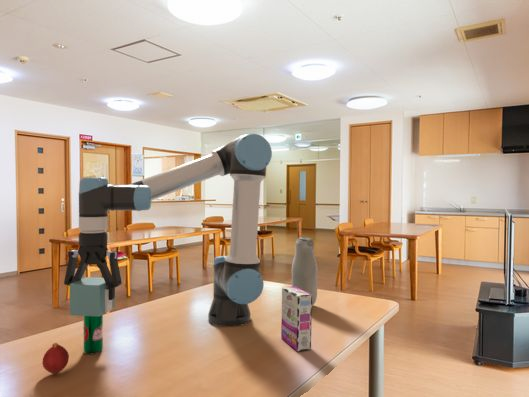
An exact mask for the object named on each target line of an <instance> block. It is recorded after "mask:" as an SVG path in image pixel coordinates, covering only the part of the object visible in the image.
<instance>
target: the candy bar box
mask: <svg viewBox="0 0 529 397" xmlns="http://www.w3.org/2000/svg"><path fill="white" fill-rule="evenodd" d="M312 312H313V305H312V295H311V294H309V293H307V292H305V291H303V290H301V289H299V288H297V287H292V286H286V287H282V288H281V329H280V330H281V331H280V332H281V334H280V335H281V336H280V337H281V338H280V339H281V340H282V341H284V342H285V343H286V345H287V344H288V346H289V347H291V348H293V349H294V350H295V351H296V352H298V353H299V352H304V351H311V349H312V317H313V314H312Z"/></svg>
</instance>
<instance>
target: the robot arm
mask: <svg viewBox="0 0 529 397" xmlns="http://www.w3.org/2000/svg"><path fill="white" fill-rule="evenodd" d="M272 152H273V151H272V147H271V144H270V143H269V141H268V140H267V139H266V138H265V137H264V136H262V135H260V134H257V133H245V134H243V135H240V136H239V137H237V138H233V139H232V140H231V141H230V142H227V143H226V144H224V145H222V146H220V147H218V148H216V149H214V150H212V151H211V153H210V154H208V155H205V156H203V157H202V156H201V158H200V157H199V158H198V159H194V160H192V161H189V162H187V163H184V164H181V165H178V166H175V167H173V168H171V169H167V170H165V171H162V172H159V173H157V174H154V175H151V176H149V177H146V178H143V179H141V180H138V181H134V182H133V183H129V184H112V183H111V184H110V183H109V179H108V178H107V177H96V176H95V177H93V176H91V177H90V176H87V177H86V176H85V177H82V178H80V180H79V188H78V189H79V190H78V230H79V231H80V232H79V233H78V245H79V248H78V249H77V250H76V249H72V250H69V251H68V252H67V256H68V261H67V267H66V271H65V275H64V281H63V285H65V286H69V287H70V284H72V283H74V282H76V281H79V280H81V279H83V276H84V274H85V273H86V270H87V268H88V266H89V265H94V266H95V265H96V267H97V268H98V269H99V272H100V273H101V276H102V278H104V280H105V283H106V285H107V287H108V288H107V289H105V312H106V313H109V312H111V311H112V310H113V308H112V300H113V299H114V298H115V297H116V288H117V287H120V286H121V285H123V282H122V277H121V272H120V268H119V261H118V257H119V252H118V251H117V250H115V251H111V250H109V249H108V240H109V239H108V238H109V237H108V235H109V234H108V232H107V230H108V222H109V221H108V217H109V215H108V214H109V213H108V211H111V212H112V211H113V212H114V211H129V212H130V211H131V212H132V211H135V212H136V211H137V212H142V211H149V210H150V209H151V206H152V201H155V200H156V199H159V198H162V197H165V196H167V195H170V194H172V193H175V192H178V191H180V190H183V189H185V188H188V187H191V186H193V185H196V184H198V183H202V182H204V181H206V180H208V179H211V178H214V177H216V176H220V177H224V176H228V175H229V176H230V178H232V179H233V181H234V182H233V183H234V184H233V194H232V196H233V198H232V211H231V213H232V215H231V225H230V228H231V230H230V244H229V253H228V255H220V256H215V257H214V259H213V265H212V267H213V296H212V297H213V299H212V302H211V304H210V307H209V310H208V318H207V320H208V322H209V324H212V325H214V326H217V327H218V326H220V327H238V326H241V325H242V326H243V325H245V324H247V323H249V322H250V321H251V310H250V307H249V304H251V303H253V302H255V301H256V300H257V299H258V298H259V297H261V294H262V293H263V290H264V278H263V277H262V275H261V273H260V272H261V271H260V269H261V260H260V258H259V257H258V256H257V245H258V231H259V227H258V226H259V215H260V214H259V213H260V212H259V211H260V197H261V183H262V181H263V180H264V179H266V176H267V166H268V165H269V164H270V163H271V159H272V157H273V156H272V155H273V154H272ZM78 257H80V258H81V259H80V261H79V264H78ZM106 258H108V260H109V262H108V261H107V260H106ZM108 263H109V266H108ZM77 264H78V267H77Z"/></svg>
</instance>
